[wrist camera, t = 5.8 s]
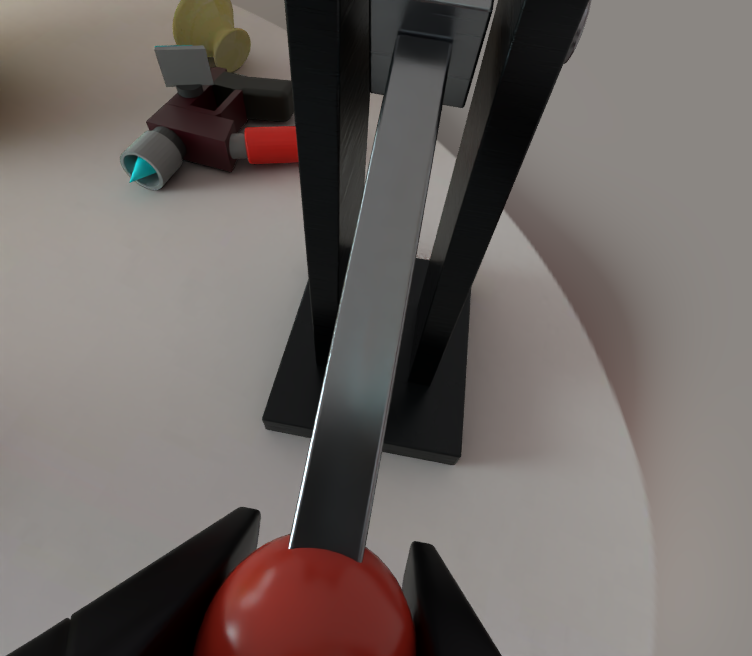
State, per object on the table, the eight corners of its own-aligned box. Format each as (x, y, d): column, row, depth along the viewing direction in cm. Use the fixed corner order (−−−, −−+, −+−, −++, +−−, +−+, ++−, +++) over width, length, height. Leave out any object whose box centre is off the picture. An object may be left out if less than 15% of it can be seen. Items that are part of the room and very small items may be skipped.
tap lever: (391, 727, 7) (406, 941, 4) (211, 689, 8) (100, 873, 4) (495, 29, 11) (546, -132, 8) (369, 9, 11) (369, -158, 8)
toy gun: (111, 193, 25) (67, 113, 21) (213, 91, 31) (194, 14, 27) (268, 237, 24) (254, 161, 20) (339, 122, 31) (339, 47, 26)
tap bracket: (454, 466, 18) (789, 52, 5) (265, 430, 18) (68, -63, 5) (466, 281, 23) (635, -148, 10) (321, 256, 24) (301, -196, 10)
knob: (174, 64, 33) (150, -15, 29) (228, 43, 35) (213, -33, 31) (214, 89, 32) (195, 9, 27) (267, 65, 34) (257, -11, 30)
